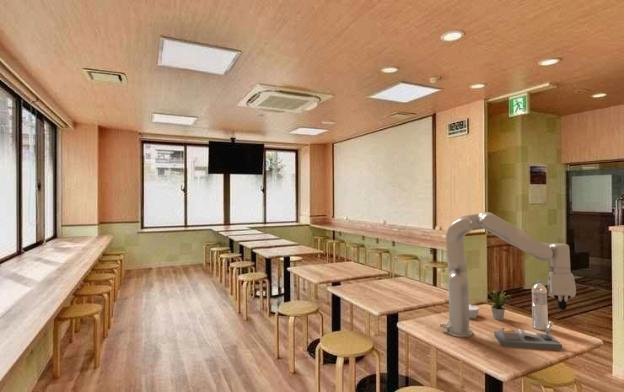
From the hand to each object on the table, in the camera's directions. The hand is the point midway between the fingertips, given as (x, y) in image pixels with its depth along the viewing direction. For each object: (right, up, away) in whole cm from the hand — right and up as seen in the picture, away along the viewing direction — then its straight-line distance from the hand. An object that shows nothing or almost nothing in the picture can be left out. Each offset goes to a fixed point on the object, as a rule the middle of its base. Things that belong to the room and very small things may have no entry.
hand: (562, 309), depth 163 cm
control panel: (-15, -17, +4) cm, 23 cm away
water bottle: (+3, -17, +20) cm, 26 cm away
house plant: (-11, -17, +35) cm, 40 cm away
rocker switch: (-14, -13, +3) cm, 20 cm away
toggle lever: (-6, -13, +2) cm, 14 cm away
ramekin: (-25, -18, +42) cm, 52 cm away
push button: (-22, -15, +5) cm, 27 cm away
